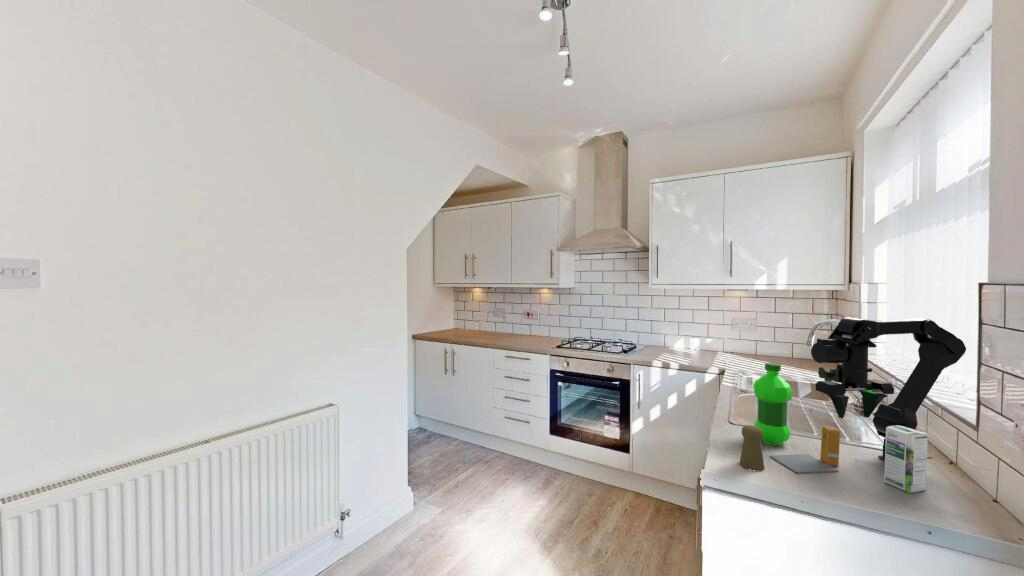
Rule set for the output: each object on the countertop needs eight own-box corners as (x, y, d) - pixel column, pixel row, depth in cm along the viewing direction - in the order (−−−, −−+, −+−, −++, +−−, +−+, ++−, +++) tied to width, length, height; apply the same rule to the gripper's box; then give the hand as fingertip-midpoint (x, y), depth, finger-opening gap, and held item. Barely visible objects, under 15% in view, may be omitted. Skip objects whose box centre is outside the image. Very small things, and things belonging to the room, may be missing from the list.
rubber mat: (808, 455, 118) (808, 454, 118) (838, 472, 108) (838, 470, 108) (769, 456, 117) (769, 455, 117) (796, 473, 107) (796, 471, 107)
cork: (766, 465, 112) (767, 426, 111) (761, 473, 107) (762, 432, 107) (742, 458, 116) (743, 421, 116) (736, 466, 111) (737, 427, 111)
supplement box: (840, 466, 111) (841, 430, 111) (826, 465, 112) (827, 430, 112) (833, 461, 114) (833, 426, 114) (819, 459, 115) (820, 425, 115)
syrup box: (882, 482, 103) (884, 426, 102) (900, 479, 104) (901, 424, 104) (909, 493, 97) (911, 434, 97) (927, 490, 99) (929, 432, 98)
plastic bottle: (786, 438, 130) (788, 362, 130) (793, 451, 121) (795, 369, 120) (751, 433, 135) (752, 359, 134) (755, 445, 125) (756, 366, 124)
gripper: (858, 356, 121) (857, 407, 122) (800, 357, 120) (799, 409, 121) (896, 364, 110) (895, 420, 111) (832, 365, 109) (832, 422, 109)
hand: (853, 417), depth 113 cm, fingers open, 7 cm apart
